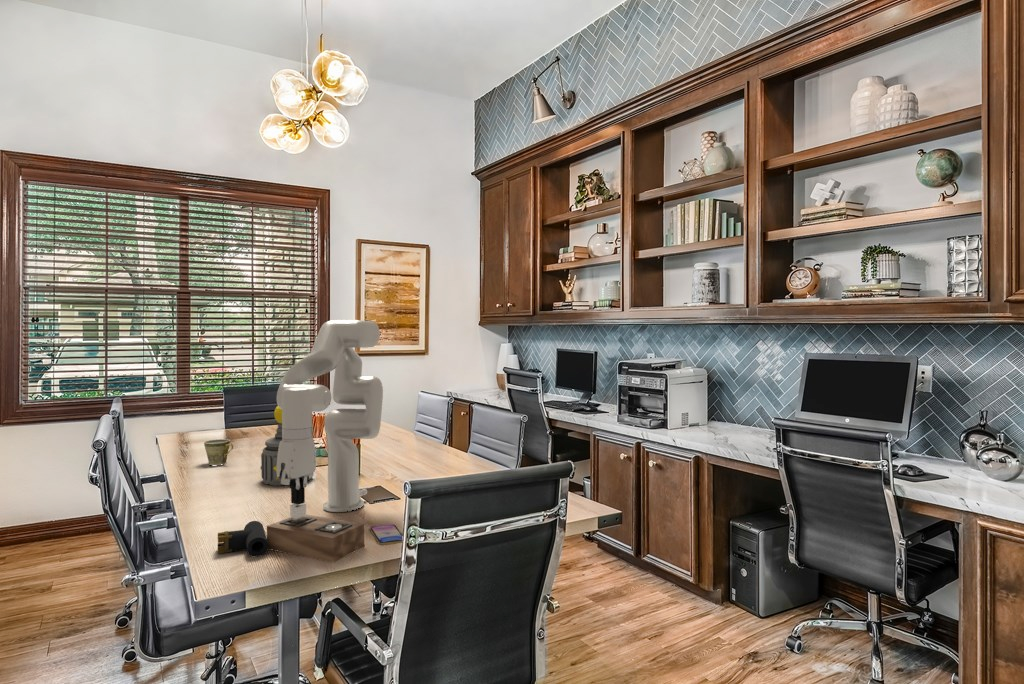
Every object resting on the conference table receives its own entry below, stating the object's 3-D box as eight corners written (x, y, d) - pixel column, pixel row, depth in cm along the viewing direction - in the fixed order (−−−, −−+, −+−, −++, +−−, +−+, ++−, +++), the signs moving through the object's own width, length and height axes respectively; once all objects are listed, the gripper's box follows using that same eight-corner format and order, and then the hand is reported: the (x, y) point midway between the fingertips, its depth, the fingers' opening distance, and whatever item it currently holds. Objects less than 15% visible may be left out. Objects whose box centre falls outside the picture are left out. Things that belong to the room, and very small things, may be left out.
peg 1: (298, 525, 166) (298, 502, 166) (309, 527, 164) (309, 504, 164) (287, 529, 162) (286, 506, 162) (298, 531, 160) (298, 508, 160)
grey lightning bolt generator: (306, 486, 224) (305, 404, 223) (253, 487, 223) (252, 404, 222) (319, 473, 243) (318, 398, 242) (270, 474, 241) (269, 398, 241)
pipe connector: (218, 541, 151) (217, 524, 164) (218, 563, 151) (217, 544, 164) (268, 535, 156) (263, 519, 169) (268, 556, 156) (263, 538, 169)
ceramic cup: (198, 466, 256) (198, 442, 256) (216, 461, 266) (216, 438, 266) (224, 468, 253) (223, 444, 252) (241, 463, 262) (241, 440, 262)
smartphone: (395, 526, 179) (395, 523, 179) (407, 543, 165) (407, 539, 165) (368, 529, 176) (368, 526, 176) (379, 547, 162) (379, 543, 162)
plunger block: (300, 534, 171) (300, 512, 170) (364, 546, 161) (364, 522, 161) (267, 548, 160) (266, 524, 160) (333, 562, 150) (332, 536, 150)
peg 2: (333, 546, 161) (332, 523, 161) (345, 549, 159) (345, 525, 159) (322, 551, 157) (322, 527, 157) (334, 554, 155) (334, 529, 155)
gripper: (306, 429, 171) (307, 494, 171) (264, 437, 157) (265, 508, 158) (327, 430, 168) (328, 497, 168) (286, 439, 154) (287, 512, 154)
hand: (297, 502), depth 163 cm, fingers closed
